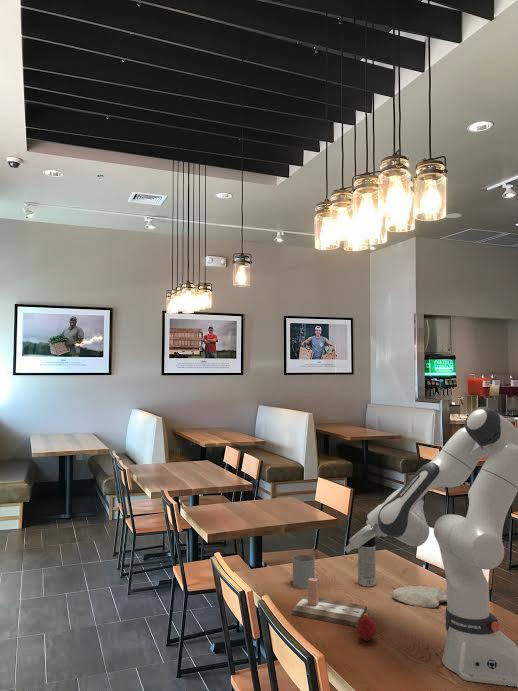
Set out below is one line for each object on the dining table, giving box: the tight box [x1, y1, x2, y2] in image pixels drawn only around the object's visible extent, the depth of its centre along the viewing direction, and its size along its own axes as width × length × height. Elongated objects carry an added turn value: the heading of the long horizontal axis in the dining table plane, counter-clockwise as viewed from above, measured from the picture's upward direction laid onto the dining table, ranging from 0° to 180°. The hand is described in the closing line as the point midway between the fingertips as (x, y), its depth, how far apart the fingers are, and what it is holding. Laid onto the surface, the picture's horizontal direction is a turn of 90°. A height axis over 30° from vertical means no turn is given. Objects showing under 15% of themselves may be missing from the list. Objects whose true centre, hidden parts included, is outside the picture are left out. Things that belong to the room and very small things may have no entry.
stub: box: [307, 578, 319, 605], centre depth 188 cm, size 3×2×8 cm
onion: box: [356, 612, 377, 642], centre depth 165 cm, size 6×6×8 cm
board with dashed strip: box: [291, 595, 368, 628], centre depth 185 cm, size 22×14×2 cm, turn 66°
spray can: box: [357, 536, 377, 588], centre depth 213 cm, size 7×7×20 cm
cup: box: [292, 554, 316, 590], centre depth 212 cm, size 8×8×10 cm
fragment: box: [391, 585, 447, 609], centre depth 196 cm, size 15×20×5 cm
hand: (350, 547), depth 185 cm, fingers open, 8 cm apart
